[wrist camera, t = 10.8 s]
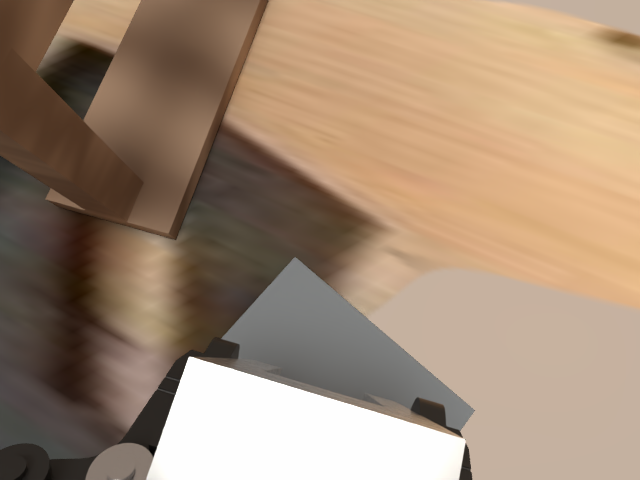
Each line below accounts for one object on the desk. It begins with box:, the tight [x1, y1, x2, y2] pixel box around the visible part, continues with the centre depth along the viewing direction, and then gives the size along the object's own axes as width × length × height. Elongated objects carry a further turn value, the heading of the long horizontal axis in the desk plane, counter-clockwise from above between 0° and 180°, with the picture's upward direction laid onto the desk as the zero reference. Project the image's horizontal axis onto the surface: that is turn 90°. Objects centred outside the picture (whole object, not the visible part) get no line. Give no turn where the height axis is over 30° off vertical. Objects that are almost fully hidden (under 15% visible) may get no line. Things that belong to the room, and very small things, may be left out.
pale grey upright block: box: [146, 357, 466, 480], centre depth 11 cm, size 4×5×8 cm
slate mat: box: [221, 257, 475, 431], centre depth 18 cm, size 10×10×1 cm
